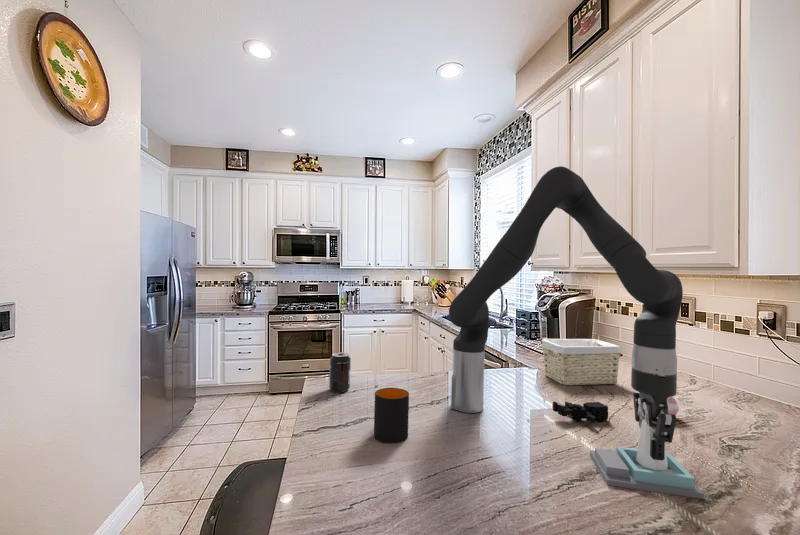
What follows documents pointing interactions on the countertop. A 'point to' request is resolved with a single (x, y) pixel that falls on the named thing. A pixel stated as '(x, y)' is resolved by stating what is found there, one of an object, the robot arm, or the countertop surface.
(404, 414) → the mug
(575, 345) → the storage basket
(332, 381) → the beverage can
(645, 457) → the salt shaker
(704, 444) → the countertop surface
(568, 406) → the toy
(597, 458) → the grey and blue tray
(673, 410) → the onion
